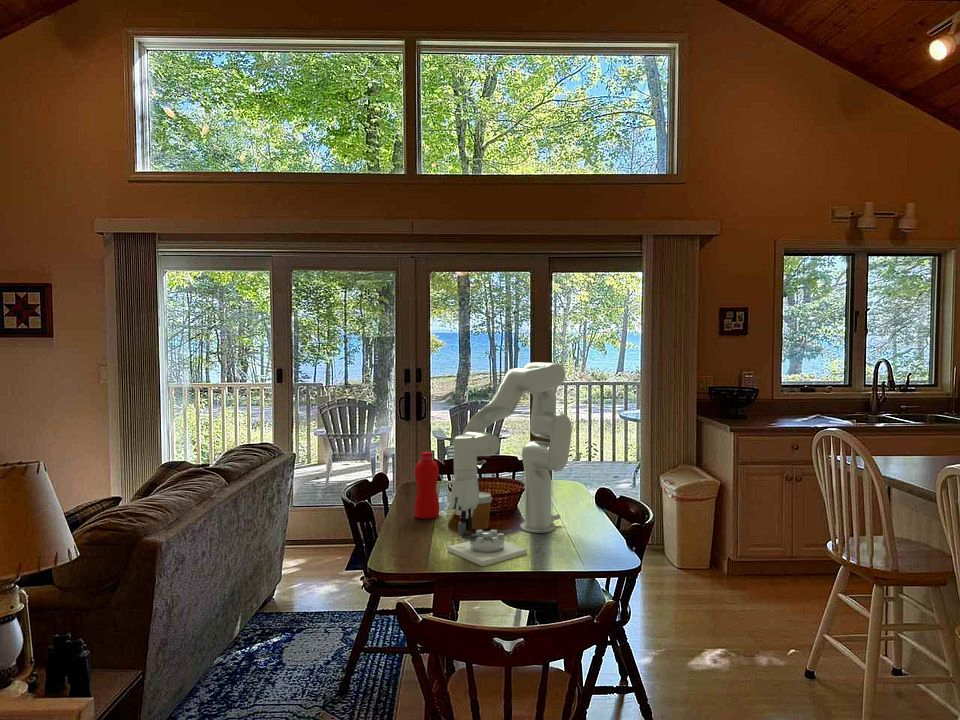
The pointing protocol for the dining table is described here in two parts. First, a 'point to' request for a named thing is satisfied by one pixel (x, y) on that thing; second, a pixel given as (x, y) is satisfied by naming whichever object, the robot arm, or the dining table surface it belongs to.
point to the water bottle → (426, 487)
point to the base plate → (487, 558)
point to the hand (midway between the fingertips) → (466, 529)
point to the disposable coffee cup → (482, 512)
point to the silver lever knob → (482, 539)
